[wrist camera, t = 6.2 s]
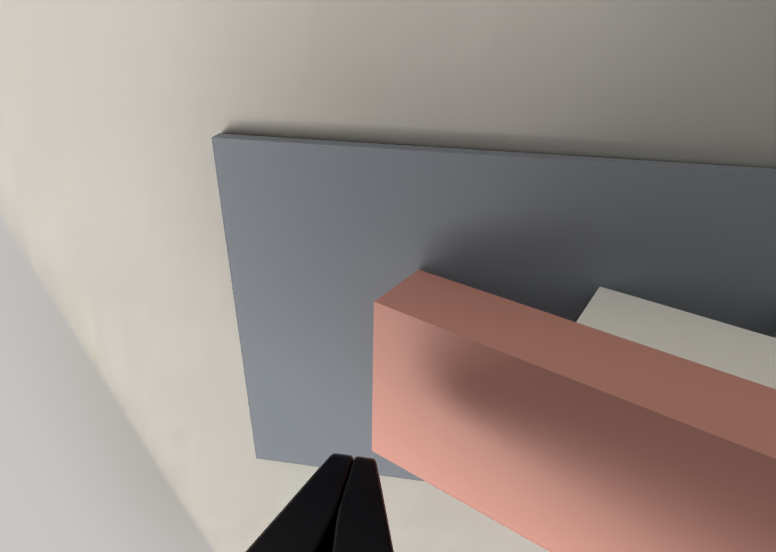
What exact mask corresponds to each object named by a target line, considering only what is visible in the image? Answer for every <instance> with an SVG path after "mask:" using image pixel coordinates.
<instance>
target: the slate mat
mask: <svg viewBox="0 0 776 552" xmlns="http://www.w3.org/2000/svg"><path fill="white" fill-rule="evenodd" d="M212 144H213V151H214V158H215V166H216V173H217V180H218V187H219V194H220V201H221V208H222V216H223V223H224V230H225V237H226V244H227V251H228V259H229V266H230V273H231V280H232V287H233V294H234V301H235V309H236V316H237V323H238V330H239V337H240V344H241V352H242V359H243V366H244V373H245V380H246V387H247V395H248V402H249V409H250V416H251V423H252V430H253V437H254V445H255V452H256V458H258V459H265V460H273V461H280V462H287V463H295V464H302V465H309V466H317V467H321V465H322V464H323V463H324V462H325V461H326V460H327V459H328V458H329V456H330V455H332V454H334V453H338V454H346V455H351V456H353V458H355V457H357V456H361V457H368V458H374V459H375V460H376V462H377V467H378V472H379V475H383V476H390V477H397V478H405V479H412V480H419V481H424V480H423V479H421V478H419V477H417V476H415V475H414V474H412V473H410V472H408V471H407V470H405V469H403V468H401V467H400V466H398V465H396V464H394V463H393V462H391V461H389V460H387V459H385V458H384V457H382V456H380V455H378V454H377V453H375V452H373V451H372V394H373V324H374V301H376V300H377V299H378V298H380V297H381V296H382V295H384V294H385V293H387V292H388V291H389V290H391V289H392V288H394V287H395V286H396V285H398V284H399V283H401V282H402V281H403V280H405V279H406V278H407V277H409V276H410V275H412V274H413V273H414V272H416V271H417V270H422V271H425V272H428V273H431V274H434V275H437V276H440V277H443V278H446V279H449V280H452V281H455V282H458V283H461V284H464V285H466V286H469V287H472V288H475V289H478V290H481V291H484V292H487V293H490V294H493V295H496V296H499V297H502V298H505V299H508V300H511V301H514V302H517V303H520V304H523V305H526V306H529V307H532V308H535V309H538V310H541V311H544V312H547V313H550V314H553V315H556V316H559V317H562V318H565V319H568V320H571V321H574V322H577V320H578V319H579V317H580V316H581V314H582V313H583V311H584V309H585V308H586V306H587V305H588V303H589V302H590V300H591V299H592V297H593V296H594V294H595V293H596V291H597V290H598V288H599V287H604V288H607V289H611V290H614V291H617V292H621V293H624V294H628V295H631V296H634V297H638V298H641V299H645V300H648V301H651V302H655V303H658V304H662V305H665V306H668V307H672V308H675V309H679V310H682V311H685V312H689V313H692V314H696V315H699V316H702V317H706V318H709V319H713V320H716V321H719V322H723V323H726V324H730V325H733V326H736V327H740V328H743V329H747V330H750V331H753V332H757V333H760V334H764V335H767V336H770V337H774V335H775V333H776V168H762V167H746V166H730V165H714V164H698V163H682V162H666V161H650V160H634V159H619V158H603V157H587V156H571V155H555V154H539V153H523V152H507V151H491V150H475V149H459V148H444V147H428V146H412V145H396V144H380V143H364V142H348V141H332V140H316V139H300V138H284V137H268V136H253V135H237V134H221V133H219V134H217V135H216V136H214V137H212Z"/></svg>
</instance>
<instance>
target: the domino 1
mask: <svg viewBox="0 0 776 552" xmlns="http://www.w3.org/2000/svg"><path fill="white" fill-rule="evenodd" d="M372 451H373V452H375V453H377V454H378V455H380V456H382V457H384V458H385V459H387V460H389V461H391V462H393V463H394V464H396V465H398V466H400V467H401V468H403V469H405V470H407V471H408V472H410V473H412V474H414V475H415V476H417V477H419V478H421V479H423V480H424V481H426V482H428V483H430V484H431V485H433V486H435V487H437V488H438V489H440V490H442V491H444V492H445V493H447V494H449V495H451V496H453V497H454V498H456V499H458V500H460V501H461V502H463V503H465V504H467V505H468V506H470V507H472V508H474V509H475V510H477V511H479V512H481V513H483V514H484V515H486V516H488V517H490V518H491V519H493V520H495V521H497V522H498V523H500V524H502V525H504V526H505V527H507V528H509V529H511V530H513V531H514V532H516V533H518V534H520V535H521V536H523V537H525V538H527V539H528V540H530V541H532V542H534V543H535V544H537V545H539V546H541V547H543V548H544V549H546V550H548V551H550V552H776V389H773V388H770V387H767V386H764V385H761V384H759V383H756V382H753V381H750V380H747V379H744V378H741V377H738V376H735V375H732V374H729V373H726V372H723V371H720V370H717V369H714V368H711V367H708V366H705V365H702V364H699V363H696V362H693V361H690V360H687V359H684V358H681V357H678V356H675V355H672V354H669V353H666V352H663V351H660V350H657V349H654V348H651V347H648V346H645V345H642V344H639V343H636V342H633V341H630V340H627V339H624V338H621V337H618V336H615V335H612V334H610V333H607V332H604V331H601V330H598V329H595V328H592V327H589V326H586V325H583V324H580V323H577V322H574V321H571V320H568V319H565V318H562V317H559V316H556V315H553V314H550V313H547V312H544V311H541V310H538V309H535V308H532V307H529V306H526V305H523V304H520V303H517V302H514V301H511V300H508V299H505V298H502V297H499V296H496V295H493V294H490V293H487V292H484V291H481V290H478V289H475V288H472V287H469V286H466V285H464V284H461V283H458V282H455V281H452V280H449V279H446V278H443V277H440V276H437V275H434V274H431V273H428V272H425V271H422V270H417V271H416V272H414V273H413V274H412V275H410V276H409V277H407V278H406V279H405V280H403V281H402V282H401V283H399V284H398V285H396V286H395V287H394V288H392V289H391V290H389V291H388V292H387V293H385V294H384V295H382V296H381V297H380V298H378V299H377V300H376V301H374V324H373V394H372Z"/></svg>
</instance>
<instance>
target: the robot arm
mask: <svg viewBox="0 0 776 552" xmlns="http://www.w3.org/2000/svg"><path fill="white" fill-rule="evenodd" d="M246 552H394V551H393V546H392V541H391V535H390V530H389V525H388V520H387V514H386V509H385V504H384V499H383V493H382V488H381V483H380V478H379V472H378V467H377V462H376V460H375V459H374V458H368V457H361V456H357V457H355V458H353V456H351V455H346V454H338V453H334V454H332V455H330V456H329V458H328V459H327V460H326V461H325V462H324V463H323V464H322V465H321V467H320V468H319V469H318V470H317V471H316V472H315V473H314V475H313V476H312V477H311V478H310V479H309V480H308V481H307V483H306V484H305V485H304V486H303V487H302V488H301V489H300V490H299V492H298V493H297V494H296V495H295V496H294V497H293V498H292V500H291V501H290V502H289V503H288V504H287V505H286V506H285V508H284V509H283V510H282V511H281V512H280V513H279V514H278V515H277V517H276V518H275V519H274V520H273V521H272V522H271V523H270V525H269V526H268V527H267V528H266V529H265V530H264V531H263V533H262V534H261V535H260V536H259V537H258V538H257V539H256V540H255V542H254V543H253V544H252V545H251V546H250V547H249V548H248V550H247V551H246Z"/></svg>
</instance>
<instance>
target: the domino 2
mask: <svg viewBox="0 0 776 552" xmlns="http://www.w3.org/2000/svg"><path fill="white" fill-rule="evenodd" d="M577 323H580V324H583V325H586V326H589V327H592V328H595V329H598V330H601V331H604V332H607V333H610V334H612V335H615V336H618V337H621V338H624V339H627V340H630V341H633V342H636V343H639V344H642V345H645V346H648V347H651V348H654V349H657V350H660V351H663V352H666V353H669V354H672V355H675V356H678V357H681V358H684V359H687V360H690V361H693V362H696V363H699V364H702V365H705V366H708V367H711V368H714V369H717V370H720V371H723V372H726V373H729V374H732V375H735V376H738V377H741V378H744V379H747V380H750V381H753V382H756V383H759V384H761V385H764V386H767V387H770V388H773V389H776V338H774V337H770V336H767V335H764V334H760V333H757V332H753V331H750V330H747V329H743V328H740V327H736V326H733V325H730V324H726V323H723V322H719V321H716V320H713V319H709V318H706V317H702V316H699V315H696V314H692V313H689V312H685V311H682V310H679V309H675V308H672V307H668V306H665V305H662V304H658V303H655V302H651V301H648V300H645V299H641V298H638V297H634V296H631V295H628V294H624V293H621V292H617V291H614V290H611V289H607V288H604V287H599V288H598V290H597V291H596V293H595V294H594V296H593V297H592V299H591V300H590V302H589V303H588V305H587V306H586V308H585V309H584V311H583V313H582V314H581V316H580V317H579V319H578V320H577Z"/></svg>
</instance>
